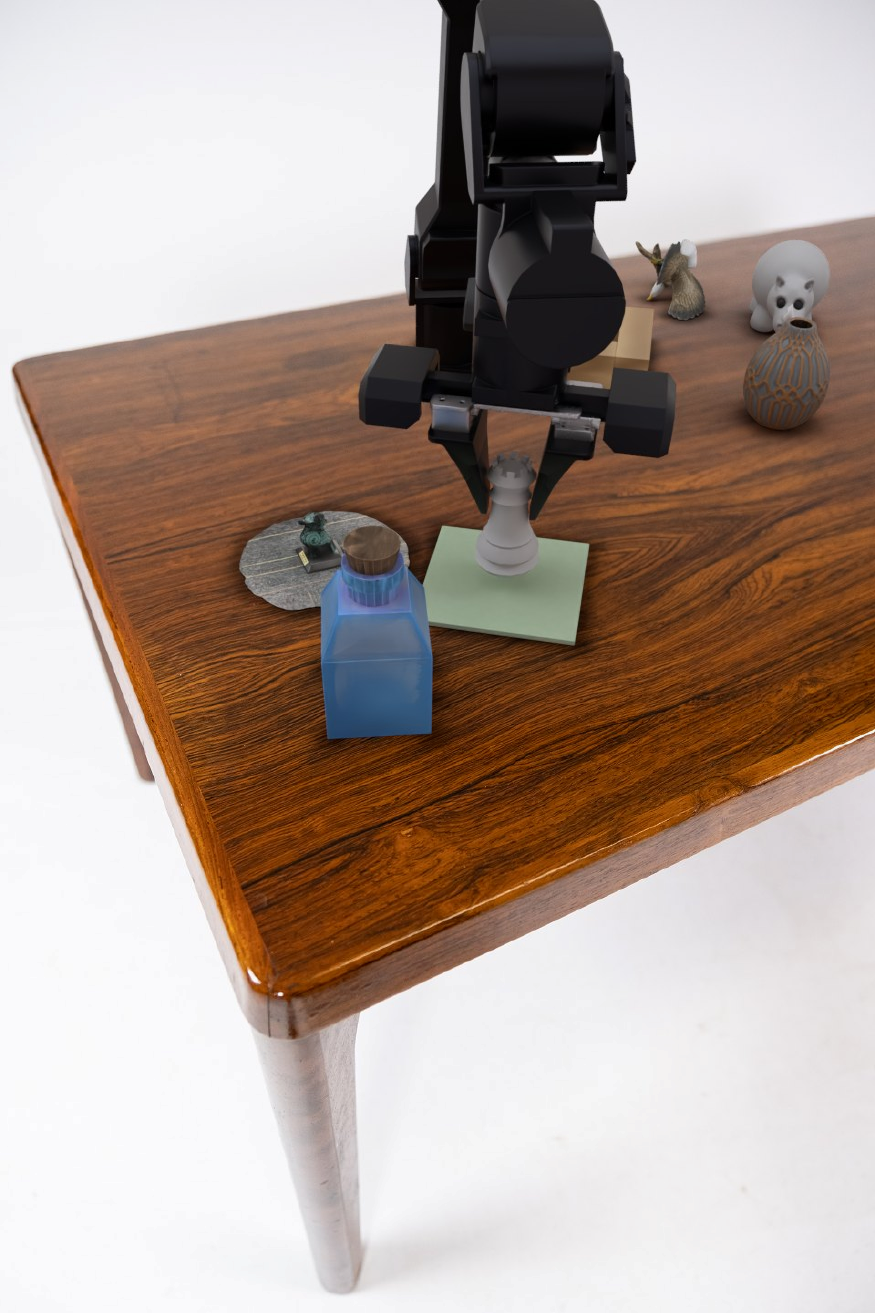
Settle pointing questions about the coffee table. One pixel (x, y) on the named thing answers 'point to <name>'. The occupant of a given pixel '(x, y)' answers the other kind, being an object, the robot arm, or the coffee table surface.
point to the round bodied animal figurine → (787, 284)
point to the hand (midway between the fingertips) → (509, 513)
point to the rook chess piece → (508, 520)
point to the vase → (787, 376)
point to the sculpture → (301, 557)
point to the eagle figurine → (677, 278)
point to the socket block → (620, 350)
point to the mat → (506, 590)
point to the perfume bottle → (375, 642)
